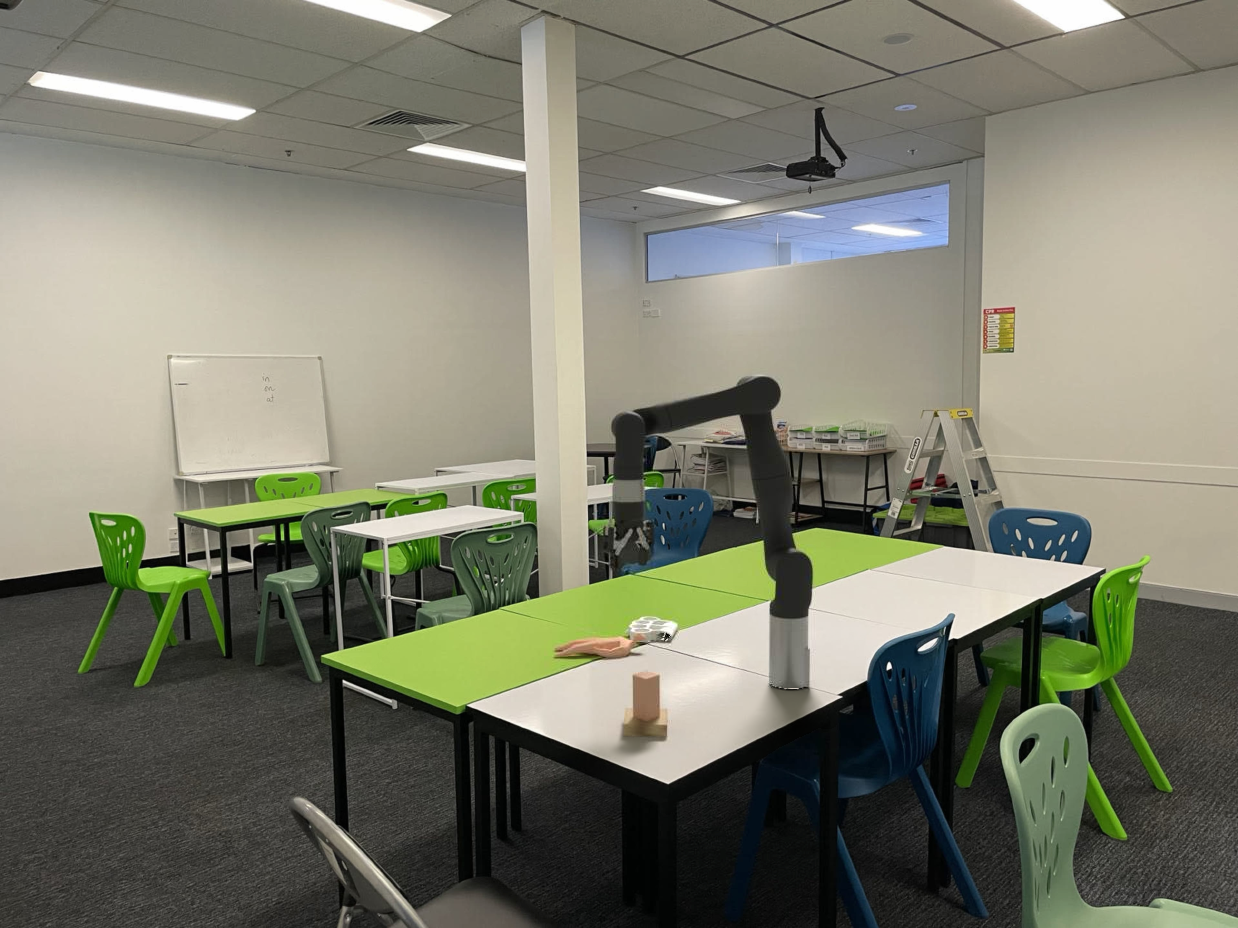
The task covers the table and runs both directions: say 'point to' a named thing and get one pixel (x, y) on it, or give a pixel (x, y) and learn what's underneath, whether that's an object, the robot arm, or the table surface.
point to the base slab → (645, 725)
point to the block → (646, 695)
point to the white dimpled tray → (652, 628)
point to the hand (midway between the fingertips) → (629, 568)
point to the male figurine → (600, 646)
